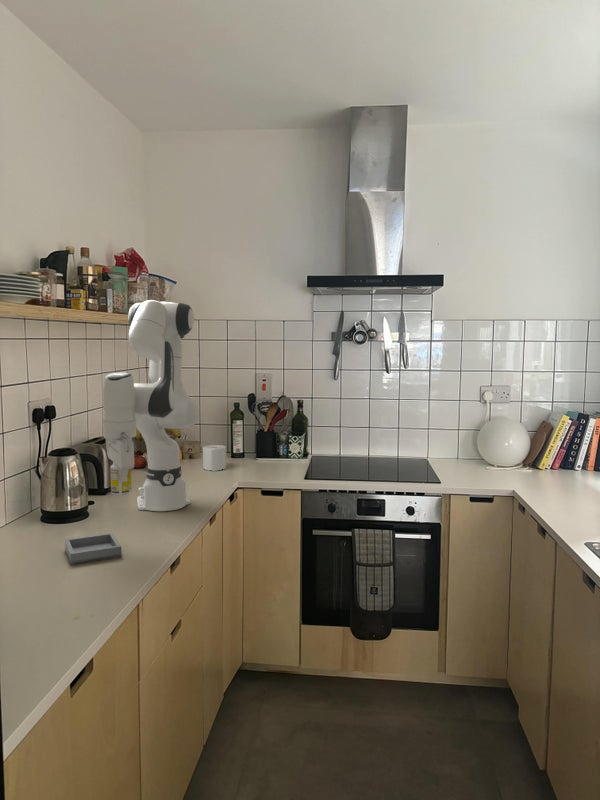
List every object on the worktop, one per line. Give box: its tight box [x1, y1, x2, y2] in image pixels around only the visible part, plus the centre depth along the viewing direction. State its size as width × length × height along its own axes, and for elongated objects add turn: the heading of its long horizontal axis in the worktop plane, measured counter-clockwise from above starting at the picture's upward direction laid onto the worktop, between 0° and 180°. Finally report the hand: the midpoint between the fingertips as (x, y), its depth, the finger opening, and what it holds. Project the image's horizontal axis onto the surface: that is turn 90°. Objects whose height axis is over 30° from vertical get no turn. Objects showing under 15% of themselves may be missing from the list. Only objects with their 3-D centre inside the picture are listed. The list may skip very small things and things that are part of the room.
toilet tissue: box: [202, 444, 227, 472], centre depth 277 cm, size 11×12×10 cm
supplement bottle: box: [109, 458, 132, 496], centre depth 171 cm, size 6×6×10 cm
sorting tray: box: [64, 532, 123, 566], centre depth 167 cm, size 13×13×3 cm
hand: (120, 479), depth 171 cm, fingers closed on supplement bottle, 5 cm apart
